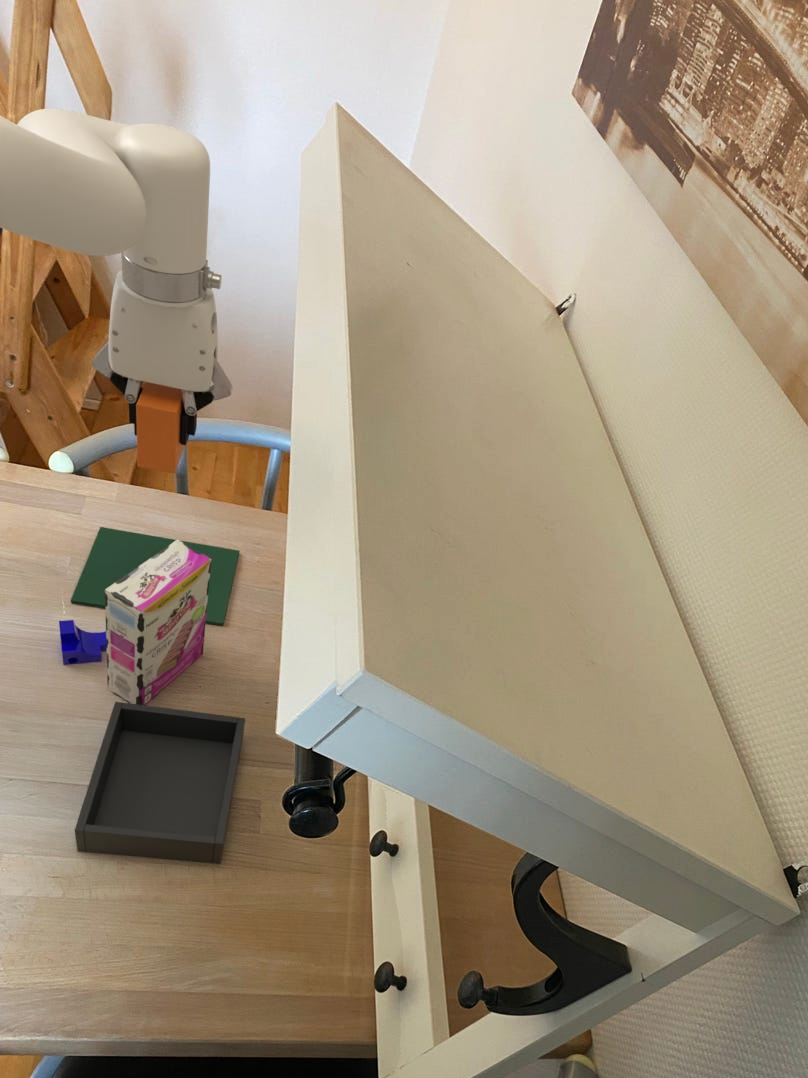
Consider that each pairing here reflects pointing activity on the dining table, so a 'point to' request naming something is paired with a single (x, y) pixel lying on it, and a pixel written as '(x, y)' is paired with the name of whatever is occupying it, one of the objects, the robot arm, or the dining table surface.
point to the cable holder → (80, 644)
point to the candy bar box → (156, 622)
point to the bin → (162, 785)
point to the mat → (129, 550)
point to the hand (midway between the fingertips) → (163, 432)
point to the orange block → (159, 428)
